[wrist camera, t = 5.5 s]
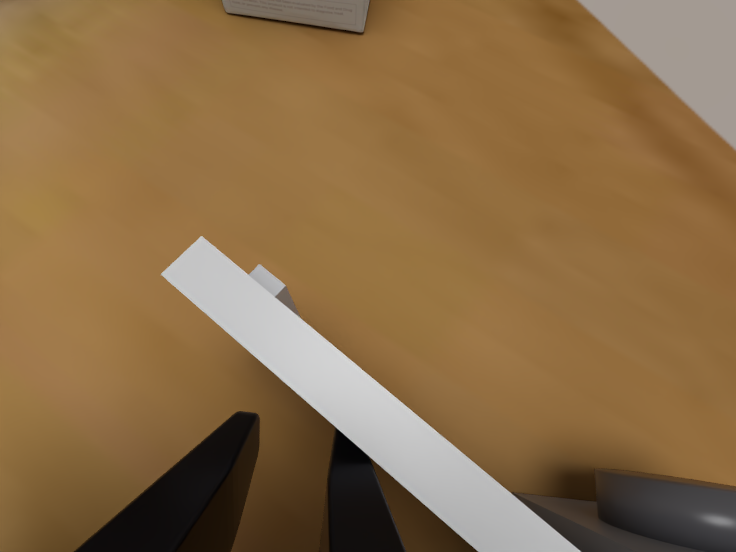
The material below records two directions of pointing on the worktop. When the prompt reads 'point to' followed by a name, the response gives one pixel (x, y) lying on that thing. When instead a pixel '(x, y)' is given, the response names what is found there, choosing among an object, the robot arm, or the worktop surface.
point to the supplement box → (306, 11)
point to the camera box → (644, 514)
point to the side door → (359, 404)
